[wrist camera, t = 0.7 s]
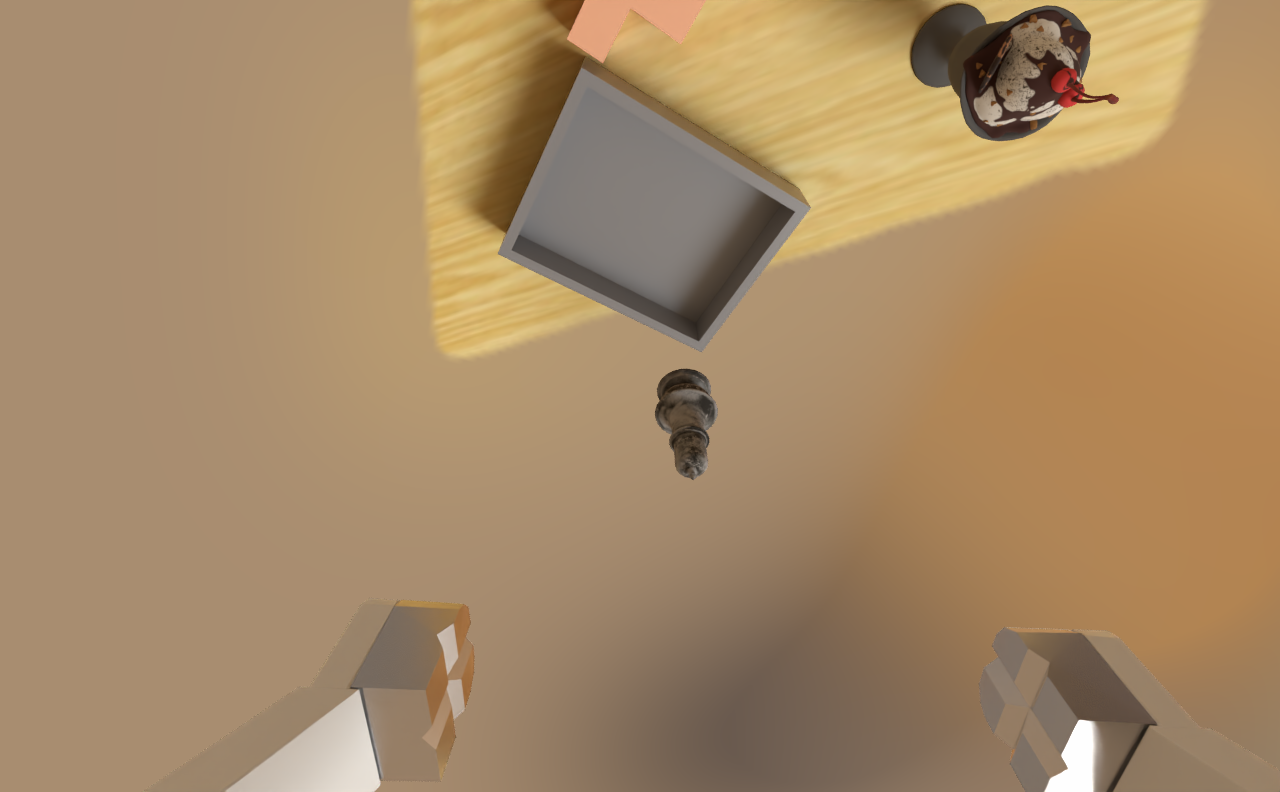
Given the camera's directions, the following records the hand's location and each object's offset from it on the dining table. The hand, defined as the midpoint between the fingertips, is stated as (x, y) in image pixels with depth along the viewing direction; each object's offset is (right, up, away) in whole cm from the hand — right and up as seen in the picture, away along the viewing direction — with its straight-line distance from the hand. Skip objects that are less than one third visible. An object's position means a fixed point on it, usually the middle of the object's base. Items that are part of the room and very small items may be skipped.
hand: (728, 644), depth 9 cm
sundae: (+20, +28, +32) cm, 47 cm away
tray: (-1, +19, +39) cm, 43 cm away
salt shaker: (+3, +5, +50) cm, 50 cm away
